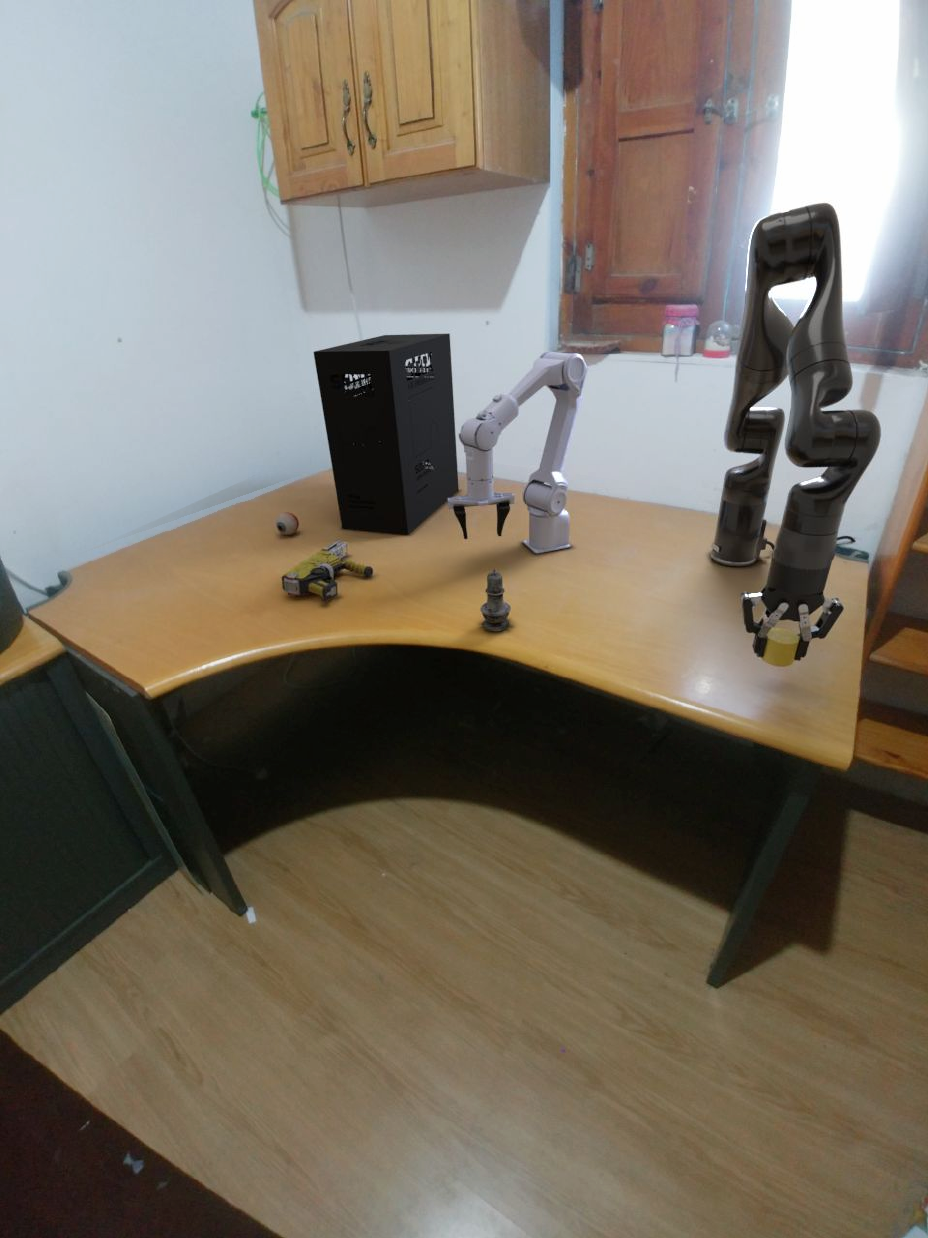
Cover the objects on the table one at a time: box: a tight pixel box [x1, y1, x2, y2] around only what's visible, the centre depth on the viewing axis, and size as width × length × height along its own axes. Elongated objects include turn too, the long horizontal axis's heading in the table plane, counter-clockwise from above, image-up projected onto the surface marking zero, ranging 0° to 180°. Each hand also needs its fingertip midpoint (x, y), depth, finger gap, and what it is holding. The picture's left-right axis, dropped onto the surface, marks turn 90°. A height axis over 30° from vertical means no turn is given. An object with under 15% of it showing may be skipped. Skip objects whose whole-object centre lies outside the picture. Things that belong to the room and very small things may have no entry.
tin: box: [760, 627, 800, 668], centre depth 93 cm, size 5×5×4 cm
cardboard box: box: [313, 333, 460, 535], centre depth 167 cm, size 38×20×45 cm, turn 159°
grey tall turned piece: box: [479, 568, 512, 632], centre depth 114 cm, size 6×6×12 cm
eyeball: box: [275, 511, 300, 536], centre depth 163 cm, size 6×6×6 cm
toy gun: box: [281, 539, 374, 603], centre depth 138 cm, size 5×24×15 cm
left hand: (482, 536), depth 136 cm, fingers open, 7 cm apart
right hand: (777, 655), depth 94 cm, fingers closed on tin, 4 cm apart
